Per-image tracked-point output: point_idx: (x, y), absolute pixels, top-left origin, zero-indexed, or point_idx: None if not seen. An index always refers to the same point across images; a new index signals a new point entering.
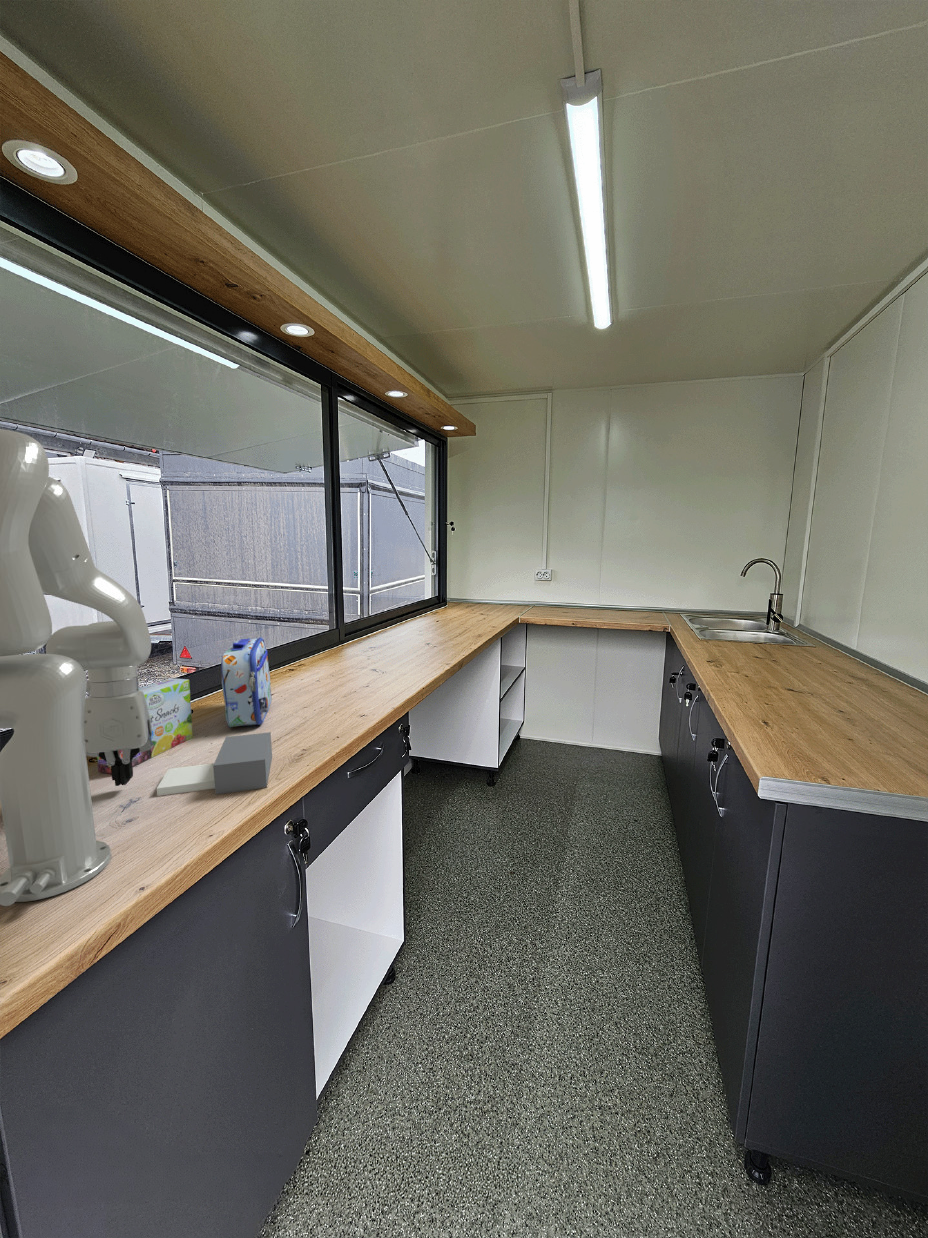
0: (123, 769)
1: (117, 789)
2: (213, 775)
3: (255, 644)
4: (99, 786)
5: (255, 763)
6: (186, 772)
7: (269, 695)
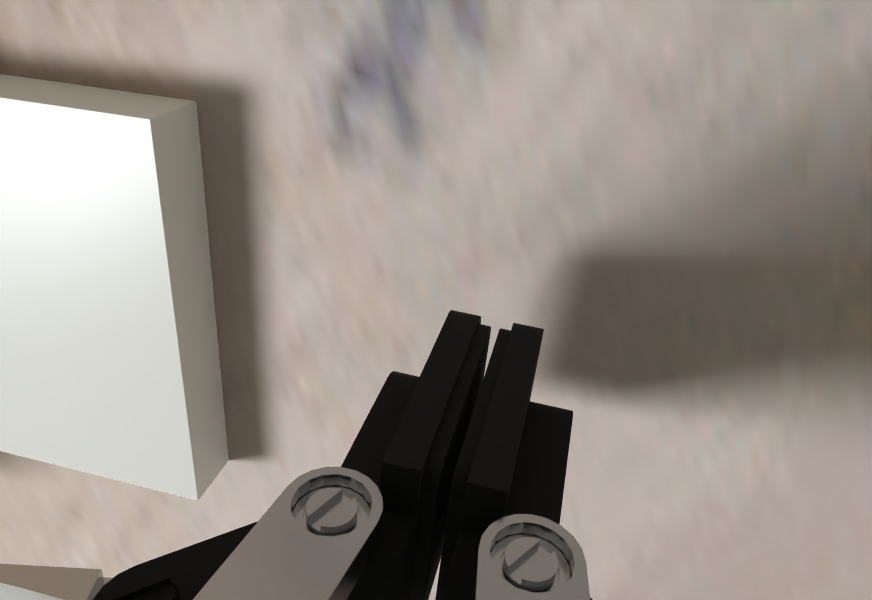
0: (402, 419)
1: None
2: None
3: None
4: (724, 544)
5: None
6: (30, 361)
7: None
